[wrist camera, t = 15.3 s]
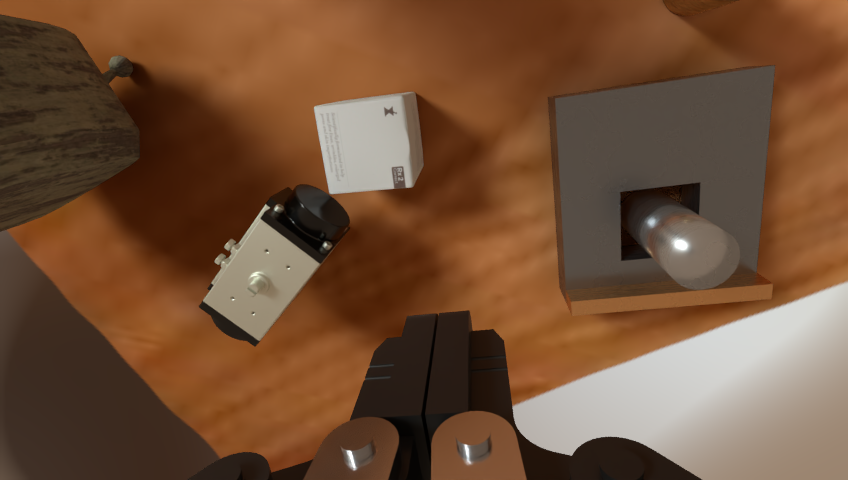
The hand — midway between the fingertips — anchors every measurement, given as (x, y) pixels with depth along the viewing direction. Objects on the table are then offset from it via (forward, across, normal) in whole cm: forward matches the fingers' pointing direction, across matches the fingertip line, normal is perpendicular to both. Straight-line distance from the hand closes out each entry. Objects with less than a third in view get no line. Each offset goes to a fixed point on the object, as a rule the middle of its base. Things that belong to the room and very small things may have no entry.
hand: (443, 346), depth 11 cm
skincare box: (+27, +6, -3) cm, 28 cm away
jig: (+27, -14, +4) cm, 31 cm away
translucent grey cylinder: (+27, -14, +6) cm, 31 cm away
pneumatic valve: (+27, +14, +4) cm, 31 cm away
